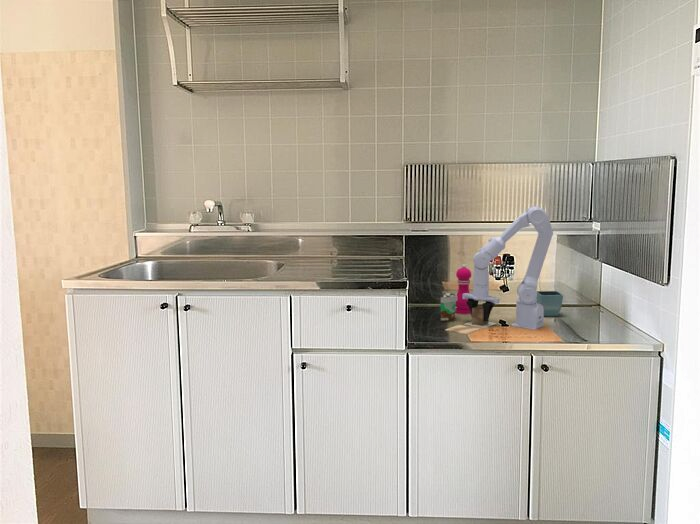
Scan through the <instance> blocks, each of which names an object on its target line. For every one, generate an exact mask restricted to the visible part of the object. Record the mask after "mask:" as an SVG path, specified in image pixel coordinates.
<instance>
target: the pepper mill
mask: <svg viewBox="0 0 700 524" xmlns="http://www.w3.org/2000/svg"><path fill="white" fill-rule="evenodd" d="M456 278H457V280H456V281H457V284H458V290H457V293H456V295H457V299H458V300H457V301H456V307H455V314H458V315H469V314H471V312H470V309H469V307H468V305H467V303H466V301H468V299H463V294H464V293H469V294H471V293H470V288H469V286H470V284H471V280H470V279H471V278H472V271H471V270H470V269H469V268H467V265H466V264H465V263H463V264H461V267H460V268H459V269H457V270H456Z"/></svg>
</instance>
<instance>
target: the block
mask: <svg viewBox="0 0 700 524" xmlns="http://www.w3.org/2000/svg"><path fill="white" fill-rule="evenodd" d="M471 321H472V324H475V325H481V326H483V325H486V324H488V323H489V322H490V321H489V320H488V321H486V322H485V321H484V310H483V306H479V305H478V306H477V307H474V308H472V316H471Z"/></svg>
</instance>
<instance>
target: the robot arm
mask: <svg viewBox="0 0 700 524" xmlns="http://www.w3.org/2000/svg"><path fill="white" fill-rule="evenodd" d="M530 224H531V225H532V226H533V227H534V229H535V232H537V237H536V241H535V244H534V247H533V250H532V253H531V256H530V258H529V259H530V260H529V262H528V266H527V268H526V272H525V274H524V276H523V278H522V281H521V283H519V284H518V286H517V288H516V293H517V296H518V298H517V299H516V305H515V306H516V307H515V309H516V310H515V311H516V312H515V322H514V323H511V324H510V325H511V327H516V328H517V327H518V328H524V329H529V330H537V329H540V328H542V327H544V326H545V324H544V318H545V316H544V308H543V305H541V304H538V303H537V301H536V298H537V292H536V291H537V289H538V285H539V278H540V275H541V271H542V269H543V266H544V263H545V259H546V256H547V253H548V250H549V247H550V245H551V242H552V237H553V235H554V232H553V231H554V230H553V227H552V224H551V221H550V216H549V215H548V214H547V212H546V211H545V209H543V208H541V207H539V206H536V205H532V206H530V207H528V208H527V210H526V211H524V212H522V213H521V214H520V215H519V216H518V217H517V218H516V219H514V221H513V222H512V223H511V224H510V225H509V226H508V227H507V228H506V229H505V230H504V231H503V232H502V233H501V234H500V235H499V236H493V237H492V238H491V237H490V238H489V239H488V242H486V244H485V245H484V246H483V247H480V248H479V249H478V250H479V251H478V252H476V253H475V254H474V255H473V258H472V262H473V264H474V265H473V271H472V274H473V275H472V293H470V292H469V293H470V294H469V293H464V294H463V299H468V301H466V303H467V305H468V307H469V309H470V312H471V313H470V314H471V317H472V308H474V307H477V306H479V301H480V302H483V303H482V307H483V310H484V321H485V322H486V321H488V320H489V319H490V316H491V312H492V310H493V308H494V306H495V305H499V304H500V297H495V296H491V295H489V294H490V293H489V292H490V291H489V289H490V288H489V287H490V286H489V282H490V278H489V277H490V273H489V266H490V264H491V261H494V259H495V258H496V257H498V256H499V255H500V253H501V252H503V250H505V248H506V243H507V242H508V241H509V240H510V239H512V238H513V236H515V235H516V234H517V233H518V232H519V231H520V230H521V229H523V228H528V227H529V228H530V227H531V225H530Z"/></svg>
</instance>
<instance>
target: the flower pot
mask: <svg viewBox="0 0 700 524" xmlns="http://www.w3.org/2000/svg"><path fill="white" fill-rule="evenodd" d="M536 292H537V298H536V301H537V303H538V304H541V305H543V308H544V317H557V316H558V315H559V313H560V311H561V310H562V307H563V306H562V305H563V299H564V294H562V293H561V292H559V291H558V290H536Z"/></svg>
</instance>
